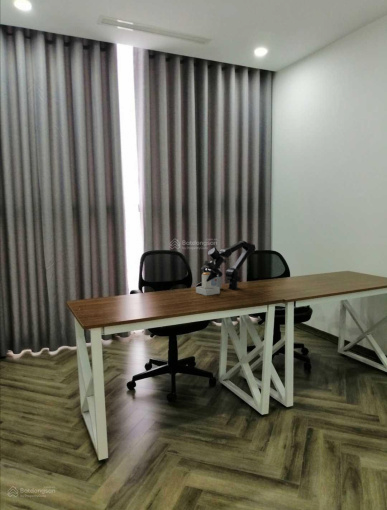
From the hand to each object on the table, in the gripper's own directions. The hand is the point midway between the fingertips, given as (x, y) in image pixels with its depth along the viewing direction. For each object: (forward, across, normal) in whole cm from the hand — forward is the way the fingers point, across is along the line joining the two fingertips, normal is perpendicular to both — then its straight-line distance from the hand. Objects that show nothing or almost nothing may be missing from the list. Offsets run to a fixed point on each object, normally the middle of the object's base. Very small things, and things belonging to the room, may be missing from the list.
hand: (204, 280), depth 256 cm
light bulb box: (-4, -10, +17) cm, 20 cm away
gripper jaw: (+4, 0, +6) cm, 7 cm away
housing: (+5, 0, +8) cm, 9 cm away
